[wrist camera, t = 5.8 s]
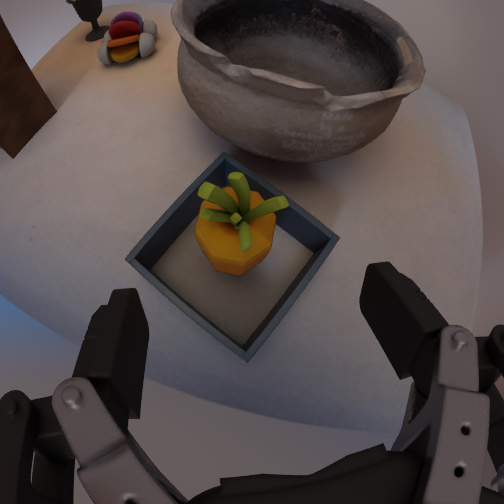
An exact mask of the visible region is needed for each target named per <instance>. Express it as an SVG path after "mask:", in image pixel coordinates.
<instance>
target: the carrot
mask: <svg viewBox="0 0 504 504" xmlns="http://www.w3.org/2000/svg"><path fill="white" fill-rule="evenodd" d="M228 180H229V182H230V184H231V186H232V187H226V188H225V189H223V190H222V189H221V188H220V187H218V186H215V185H213V184H211V183H208V182H204V183H203V184H202V185H201V187H200V188H199V191H198V194H197V195H198V196H199V197H201V198H203V199H205V201H203V202H202V204H201V208H200V212H199V216H198V220H197V224H196V228H195V232H194V235H195V237H196V239H197V242H198V244H199V245H200V247H201V249H202V250H203V252H204V253H205V255H206V256H207V258H208V259H209V261H210V262H211V264H212V265H213V267H214V268H215V270H216V271H219V272H224V273H230V274H235V275H242V274H244V273H245V272H247V271H248V270H250V269H251V268H253V267H254V266H256V265H257V264H258V263H260V262H261V261H262V260H263V259H264V258H265V257H266V256H267V254H268V253H269V252H270V250H271V247H272V241H273V235H274V228H275V222H276V216H275V214H274V213H273V212H275V211H279V210H282V209H284V208H286V207H288V206H289V204H288V201H287V199H286V198H285V197H284V196H278V197H273V198H270V199H268V200H265V201H264V200H263V198H262V197H261V196H260V194H259V193H258V192H255V191H250V188H249V185H248V182H247V180H246V178H245V176H244V174H243V173H240V172H232V173H230V174H229V176H228Z"/></svg>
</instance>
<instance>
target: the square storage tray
mask: <svg viewBox="0 0 504 504" xmlns="http://www.w3.org/2000/svg"><path fill="white" fill-rule="evenodd" d="M232 172H240V173H243V174H244V176H245V178H246V180H247V182H248V185H249V188H250V191H255V192H258V193H259V194H260V196H261V197H262V198H263V200H264V201H265V200H268V199H270V198H273V197H278V196H284V197H285V198H286V199H287V201H288V204H289V206H288V207H286V208H284V209H282V210H279V211H275V212H273V213H274V214H275V216H276V222H275V223H276V224H277V225H279V226H280V227H281V228H283V229H284V230H285V231H287V232H288V233H289V234H290V235H292V236H293V237H294V238H296V239H297V240H298V241H299V242H301V243H302V244H303V245H305V246H306V247H307V248H308V249H310V250H311V251H312V252H313V253H314V254H313V255H312V257H311V258H310V260H309V261H308V262H307V264H306V265H305V266H304V268H303V269H302V270H301V272H300V273H299V274H298V276H297V277H296V279H295V280H294V281H293V283H292V284H291V285H290V287H289V288H288V289H287V291H286V292H285V293H284V294H283V296H282V297H281V298H280V300H279V301H278V302H277V304H276V305H275V306H274V308H273V309H272V310H271V311H270V313H269V314H268V315H267V317H266V318H265V319H264V320H263V322H262V323H261V324H260V326H259V327H258V328H257V329H256V331H255V332H254V333H253V334H252V336H251V337H250V338H249V339H248V341H247V342H246V343H245V344H244V346H243V347H242V346H241V345H240V344H239V343H237V342H236V341H235V340H234V339H232V338H231V337H230V336H228V335H227V334H226V333H225V332H223V331H222V330H221V329H220V328H218V327H217V326H216V325H215V324H213V323H212V322H211V321H210V320H208V319H207V318H206V317H205V316H203V315H202V314H201V313H200V312H199V311H197V310H196V309H195V308H194V307H193V306H191V305H190V304H189V303H188V302H187V301H185V300H184V299H183V298H182V297H181V296H180V295H178V294H177V293H176V292H175V291H174V290H173V289H171V288H170V287H169V286H168V285H167V284H166V283H165V282H163V281H162V280H161V279H160V278H159V277H158V276H157V275H155V274H154V273H153V272H152V271H151V270H150V269H151V268H152V267H153V265H154V264H155V263H156V262H157V261H158V259H159V258H160V257H161V256H162V255H163V254H164V252H165V251H166V250H167V249H168V248H169V247H170V245H171V244H172V243H173V242H174V241H175V240H176V239H177V237H178V236H179V235H180V234H181V233H182V232H183V231H184V229H185V228H186V227H187V226H188V225H189V224H190V223H191V222H192V220H193V219H194V218H195V217H196V216H197V215H198V214H199V212H200V208H201V204H202V202H203V201H205V199H203V198H201V197H199V196H198V195H197V194H198V191H199V188H200V187H201V185H202V184H203V183H204V182H208V183H211V184H213V185H215V186H218V187H220V188H221V189H222V188H223V187H224V186H227V187H232V186H231V184H230V182H229V180H228V176H229V174H230V173H232ZM339 239H340V237H339V236H338V235H336V234H334V232H333V231H331V230H330V229H329V228H327V227H326V226H325V225H324V224H322V223H321V222H320V221H319V220H317V219H316V218H315V217H313V216H312V215H311V214H310V213H308V212H307V211H306V210H304V209H303V208H302V207H300V206H299V205H298V204H296V203H295V202H294V201H292V200H291V199H290V198H288V197H287V196H286V195H284V194H283V193H282V192H280V191H279V190H278V189H276V188H275V187H274V186H272V185H271V184H269V183H268V182H267V181H265V180H264V179H262V178H261V177H260V176H258V175H257V174H255V173H254V172H253V171H251V170H250V169H248V168H247V167H246V166H244V165H243V164H241V163H240V162H238V161H237V160H236V159H234V158H233V157H231V156H230V155H228V154H227V153H225V152H223V153H222V154H221V155H220V156H219V157H218V158H217V159H216V160H215V161H214V162H213V163H212V164H211V165H210V166H209V167H208V168H207V169H206V170H205V171H204V172H203V173H202V174H201V175H200V176H199V177H198V178H197V179H196V180H195V181H194V182H193V183H192V184H191V185H190V186H189V187H188V188H187V189H186V190H185V191H184V193H183V194H182V195H181V196H180V197H179V198H178V199H177V200H176V201H175V202H174V203H173V204H172V205H171V206H170V207H169V209H168V210H167V211H166V212H165V213H164V214H163V215H162V216H161V217H160V218H159V220H158V221H157V222H156V223H155V224H154V225H153V226H152V227H151V229H150V230H149V231H148V232H147V233H146V234H145V235H144V237H143V238H142V239H141V240H140V241H139V242H138V244H137V245H136V246H135V247H134V248H133V249H132V251H131V252H130V253H129V254H128V255H127V257H126V258H125V260H126V261H127V262H128V263H129V264H130V265H131V266H132V267H134V268H135V269H136V270H137V271H138V272H139V273H140V274H141V275H142V276H143V277H144V278H145V279H146V280H148V281H149V282H150V283H151V284H152V285H153V286H154V287H155V288H156V289H158V290H159V291H160V292H161V293H162V294H163V295H164V296H165V297H167V298H168V299H169V300H170V301H171V302H172V303H174V304H175V305H176V306H177V307H178V308H179V309H181V310H182V311H183V312H184V313H185V314H186V315H188V316H189V317H190V318H191V319H192V320H194V321H195V322H196V323H197V324H198V325H200V326H201V327H202V328H203V329H205V330H206V331H207V332H208V333H210V334H211V335H212V336H213V337H215V338H216V339H217V340H218V341H220V342H221V343H222V344H223V345H225V346H226V347H227V348H229V349H230V350H231V351H232V352H234V353H235V354H236V355H238V356H239V357H241V358H242V359H243V360H244V361H246V362H247V363H248V362H249V360H250V359H251V358H252V357H253V355H254V354H255V353H256V352H257V350H258V349H259V348H260V347H261V345H262V344H263V343H264V342H265V340H266V339H267V338H268V336H269V335H270V334H271V333H272V331H273V330H274V329H275V327H276V326H277V325H278V324H279V322H280V321H281V320H282V318H283V317H284V316H285V314H286V313H287V312H288V310H289V309H290V308H291V306H292V305H293V304H294V302H295V301H296V300H297V298H298V297H299V296H300V294H301V293H302V291H303V290H304V289H305V287H306V286H307V285H308V283H309V282H310V280H311V279H312V278H313V276H314V275H315V274H316V272H317V271H318V269H319V268H320V266H321V265H322V264H323V262H324V261H325V259H326V258H327V256H328V255H329V254H330V252H331V251H332V249H333V248H334V246H335V245H336V243H337V242H338V241H339Z"/></svg>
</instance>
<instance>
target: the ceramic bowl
mask: <svg viewBox="0 0 504 504" xmlns="http://www.w3.org/2000/svg"><path fill="white" fill-rule="evenodd" d="M171 17H172V22H173V25H174V27H175V28H176V30H177V32H178V33H179V35H180V37H181V42H180V45H179V49H178V79H179V83H180V86H181V89H182V92H183V94H184V96H185V98H186V100H187V102H188V104H189V106H190V107H191V108H192V109H193V110H194V111H195V113H196V114H197V115H198V116H199V117H200V119H201V120H202V121H203V122H204V123H205V124H206V125H207V126H208V127H209V128H210V129H211V130H212V131H213V132H215V133H216V134H217V135H219V136H221V137H222V138H224V139H225V140H227V141H229V142H230V143H232V144H233V145H235V146H237V147H240V148H242V149H244V150H246V151H248V152H251V153H253V154H256V155H259V156H262V157H266V158H270V159H274V160H279V161H284V162H303V163H304V162H318V161H325V160H329V159H332V158H336V157H339V156H343V155H347V154H350V153H352V152H354V151H356V150H358V149H360V148H362V147H364V146H366V145H367V144H368V143H370V142H371V141H373V140H374V139H375V138H377V137H378V136H379V135H380V134H381V133H383V132H384V131H385V130H386V128H387V127H388V125H389V124H390V122H391V121H392V119H393V117H394V116H395V114H396V112H397V110H398V108H399V106H400V104H401V101H402V98H404V97H406V96H408V95H409V94H410V93H411V92H413V91H415V90H417V89H418V88H420V85H421V83H422V81H423V78H424V75H425V72H426V70H425V68H424V65H423V58H422V55H421V54H420V52H419V50H418V48H417V46H416V44H415V42H414V41H413V40H412V38H411V37H410V35H409V34H408V33H407V31H406V30H405V29H404V28H403V26H402V25H401V24H400V23H398V22H397V21H396V20H394V19H393V18H391V17H390V16H389V15H387V14H386V13H385V12H383V11H382V10H380V9H379V8H377V7H375V6H374V5H372V4H370V3H368V2H366V1H364V0H177V1H176V2H175V3H174V5H173V7H172V11H171Z"/></svg>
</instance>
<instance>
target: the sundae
mask: <svg viewBox="0 0 504 504" xmlns="http://www.w3.org/2000/svg"><path fill="white" fill-rule="evenodd" d="M66 2H67V3H69V4H72V5H73V7H74V8H75V10H76V11H77V14H78V15H79V17H80V18H81V20H83V21H86V22H91V24H92V28H93V30H92V31H91V32H89V33H88V34H87V36H86V38H85V39H86V40H87V41H94V40H97V39H100V38H102V37H103V36H104V35H105V33H106V32H107V31H108V30H109V28H110V27H109V26H102V27H100V26H99V25H98V22H97V18H98V17H99V16H100V14H101V12H102V0H66Z"/></svg>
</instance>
